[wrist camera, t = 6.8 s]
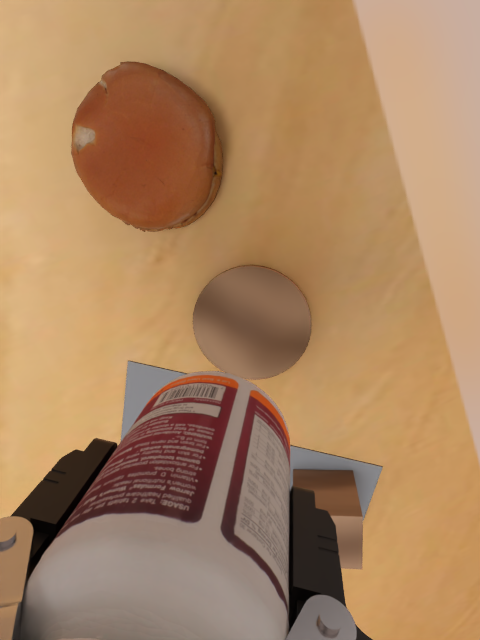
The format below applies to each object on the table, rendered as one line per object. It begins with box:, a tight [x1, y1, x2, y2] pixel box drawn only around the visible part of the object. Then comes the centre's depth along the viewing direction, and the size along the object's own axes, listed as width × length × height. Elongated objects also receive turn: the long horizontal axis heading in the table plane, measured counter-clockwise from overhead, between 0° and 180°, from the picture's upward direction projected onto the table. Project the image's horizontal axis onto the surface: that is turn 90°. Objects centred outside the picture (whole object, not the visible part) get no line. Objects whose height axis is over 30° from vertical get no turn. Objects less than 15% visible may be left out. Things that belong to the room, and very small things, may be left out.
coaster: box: [193, 265, 311, 380], centre depth 30 cm, size 9×9×1 cm
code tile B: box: [290, 445, 382, 520], centre depth 34 cm, size 8×8×1 cm
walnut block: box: [293, 469, 363, 569], centre depth 32 cm, size 5×5×5 cm
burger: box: [71, 62, 222, 232], centre depth 25 cm, size 10×9×5 cm
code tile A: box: [121, 361, 186, 441], centre depth 34 cm, size 9×9×1 cm
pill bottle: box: [21, 371, 290, 640], centre depth 11 cm, size 6×6×11 cm
